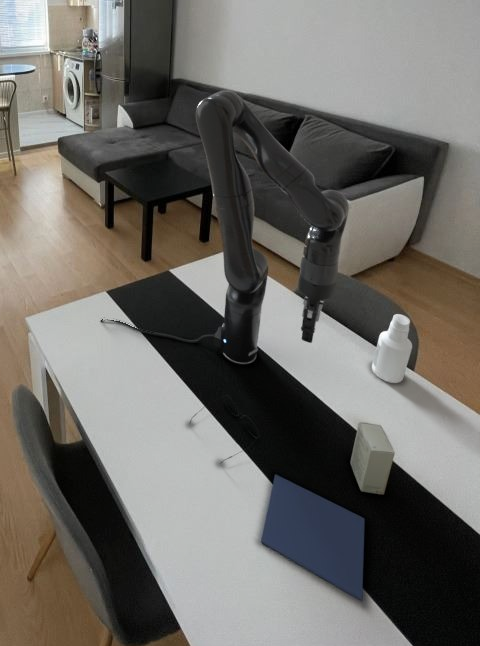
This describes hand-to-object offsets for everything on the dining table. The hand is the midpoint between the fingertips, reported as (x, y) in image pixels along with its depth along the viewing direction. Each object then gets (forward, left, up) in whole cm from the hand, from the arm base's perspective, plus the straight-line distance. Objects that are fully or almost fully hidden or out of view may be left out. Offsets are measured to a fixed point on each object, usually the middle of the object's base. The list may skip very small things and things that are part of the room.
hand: (309, 329), depth 104 cm
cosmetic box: (+15, -18, -18) cm, 30 cm away
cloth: (+7, -34, -18) cm, 39 cm away
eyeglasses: (-13, -23, -18) cm, 32 cm away
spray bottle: (+19, +15, -18) cm, 30 cm away
